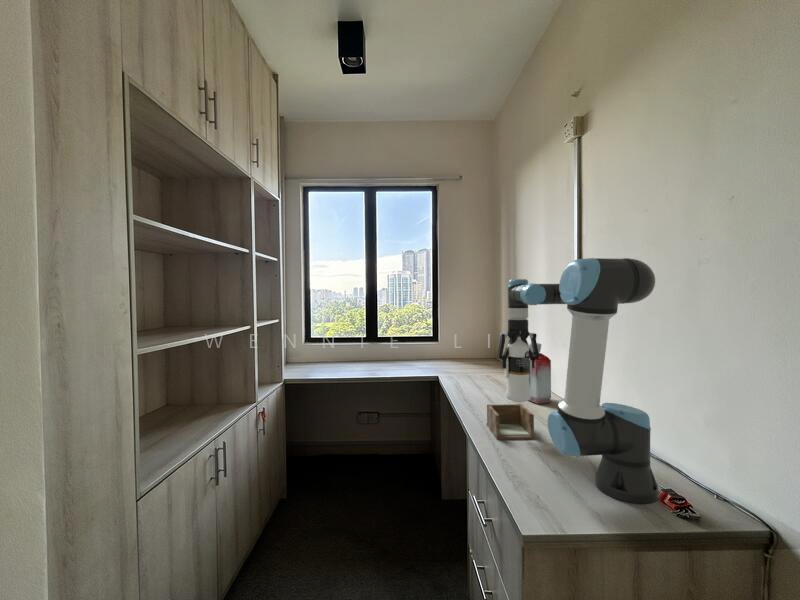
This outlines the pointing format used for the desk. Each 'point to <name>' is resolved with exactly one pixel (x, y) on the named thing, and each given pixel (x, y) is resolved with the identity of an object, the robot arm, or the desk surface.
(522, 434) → the wooden box
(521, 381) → the vodka
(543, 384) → the bottle
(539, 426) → the desk surface
